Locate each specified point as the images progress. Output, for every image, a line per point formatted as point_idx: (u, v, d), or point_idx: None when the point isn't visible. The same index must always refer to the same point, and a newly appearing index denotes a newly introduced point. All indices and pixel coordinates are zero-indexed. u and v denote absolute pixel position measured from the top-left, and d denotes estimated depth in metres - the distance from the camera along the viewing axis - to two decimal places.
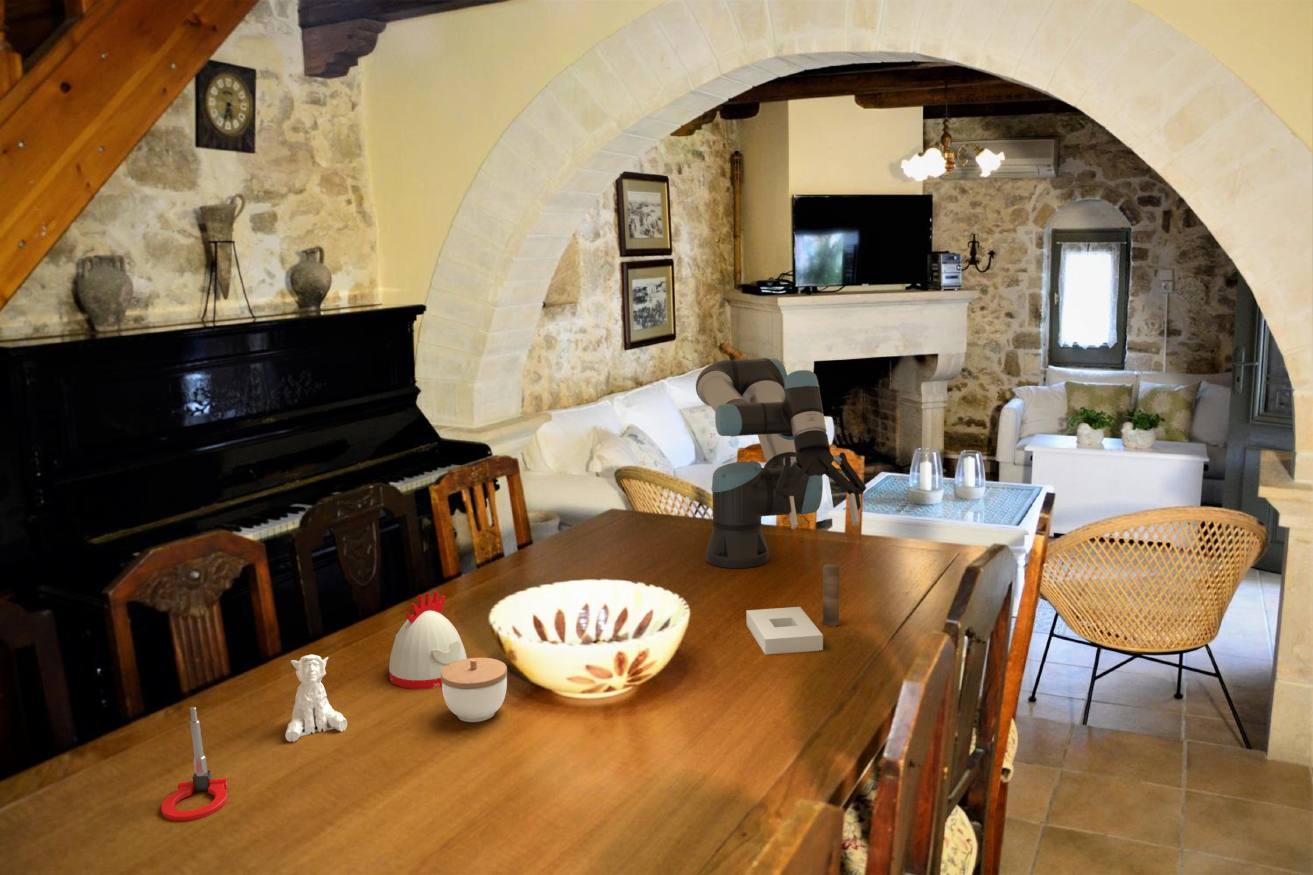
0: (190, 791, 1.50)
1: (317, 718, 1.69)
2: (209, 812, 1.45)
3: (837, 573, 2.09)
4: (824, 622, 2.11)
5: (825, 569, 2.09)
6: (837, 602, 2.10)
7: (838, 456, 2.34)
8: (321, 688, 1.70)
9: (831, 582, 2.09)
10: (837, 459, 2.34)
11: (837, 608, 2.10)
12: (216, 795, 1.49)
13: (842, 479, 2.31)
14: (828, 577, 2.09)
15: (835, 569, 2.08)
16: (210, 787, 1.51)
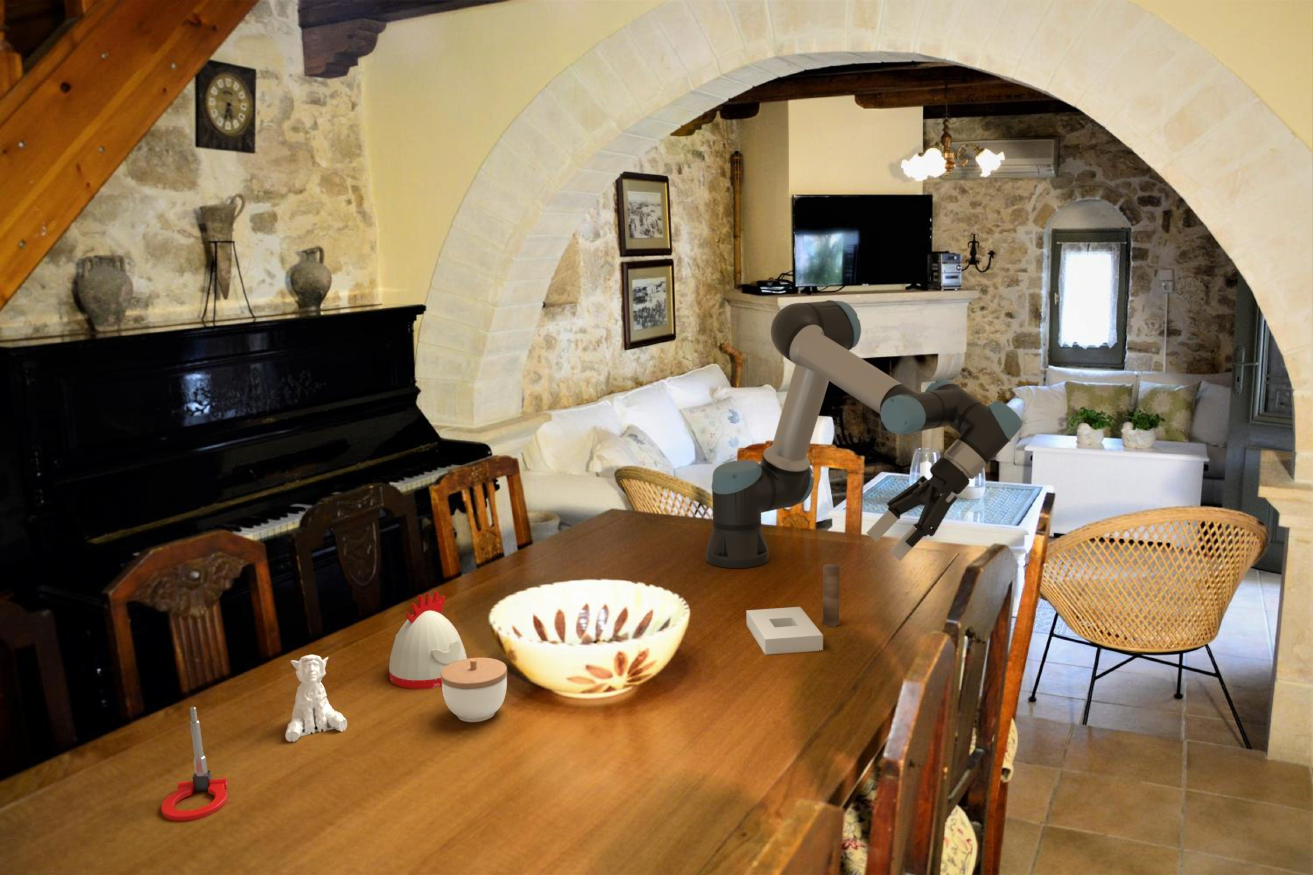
0: (190, 791, 1.50)
1: (317, 718, 1.69)
2: (209, 812, 1.45)
3: (837, 573, 2.09)
4: (824, 622, 2.11)
5: (825, 569, 2.09)
6: (837, 602, 2.10)
7: None
8: (321, 688, 1.70)
9: (831, 582, 2.09)
10: None
11: (837, 608, 2.10)
12: (216, 795, 1.49)
13: None
14: (828, 577, 2.09)
15: (835, 569, 2.08)
16: (210, 787, 1.51)
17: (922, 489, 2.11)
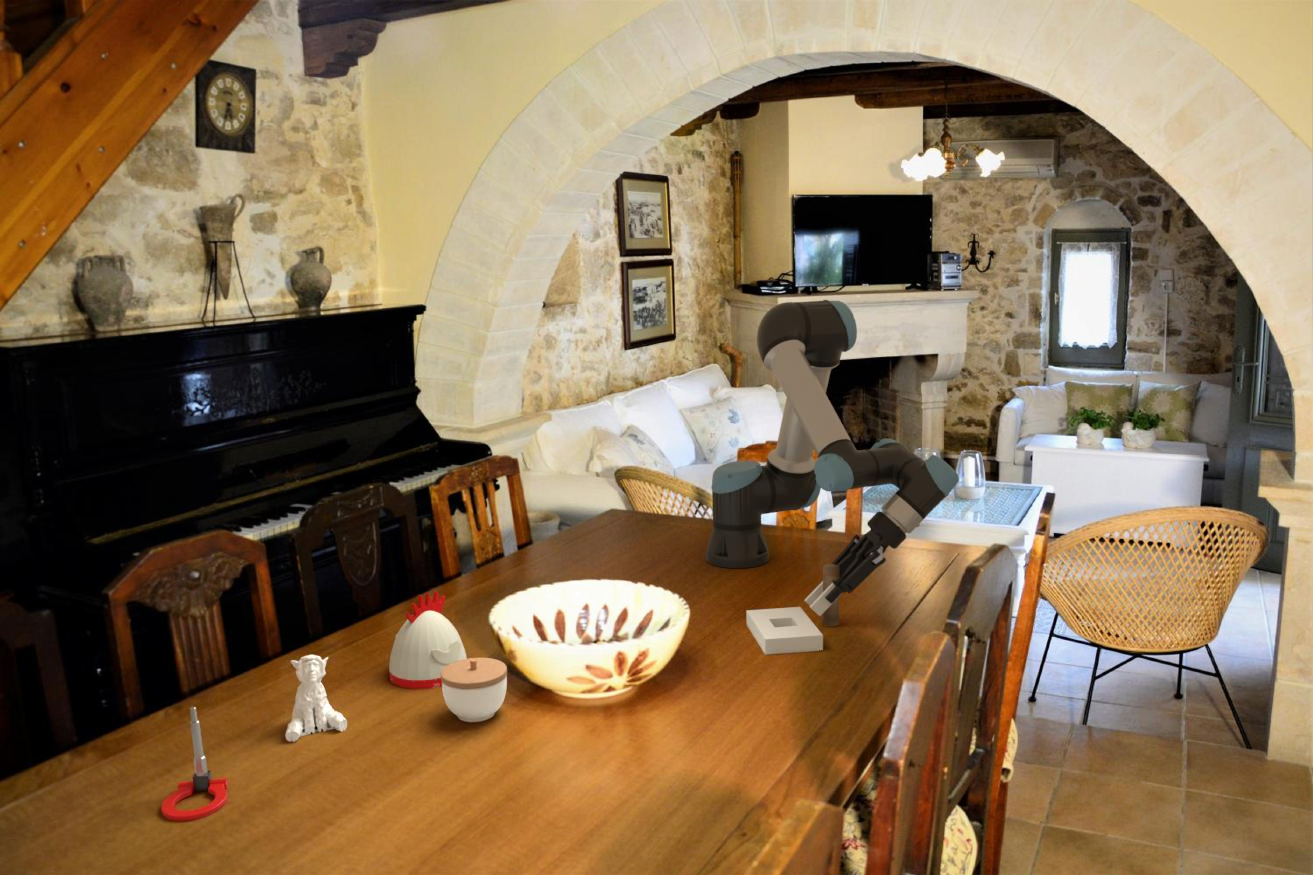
0: (190, 791, 1.50)
1: (317, 718, 1.69)
2: (209, 812, 1.45)
3: (837, 573, 2.09)
4: (824, 622, 2.11)
5: (825, 569, 2.09)
6: (837, 602, 2.10)
7: None
8: (321, 688, 1.70)
9: (831, 582, 2.09)
10: None
11: (837, 608, 2.10)
12: (216, 795, 1.49)
13: None
14: (828, 577, 2.09)
15: (835, 569, 2.08)
16: (210, 787, 1.51)
17: (861, 543, 2.11)
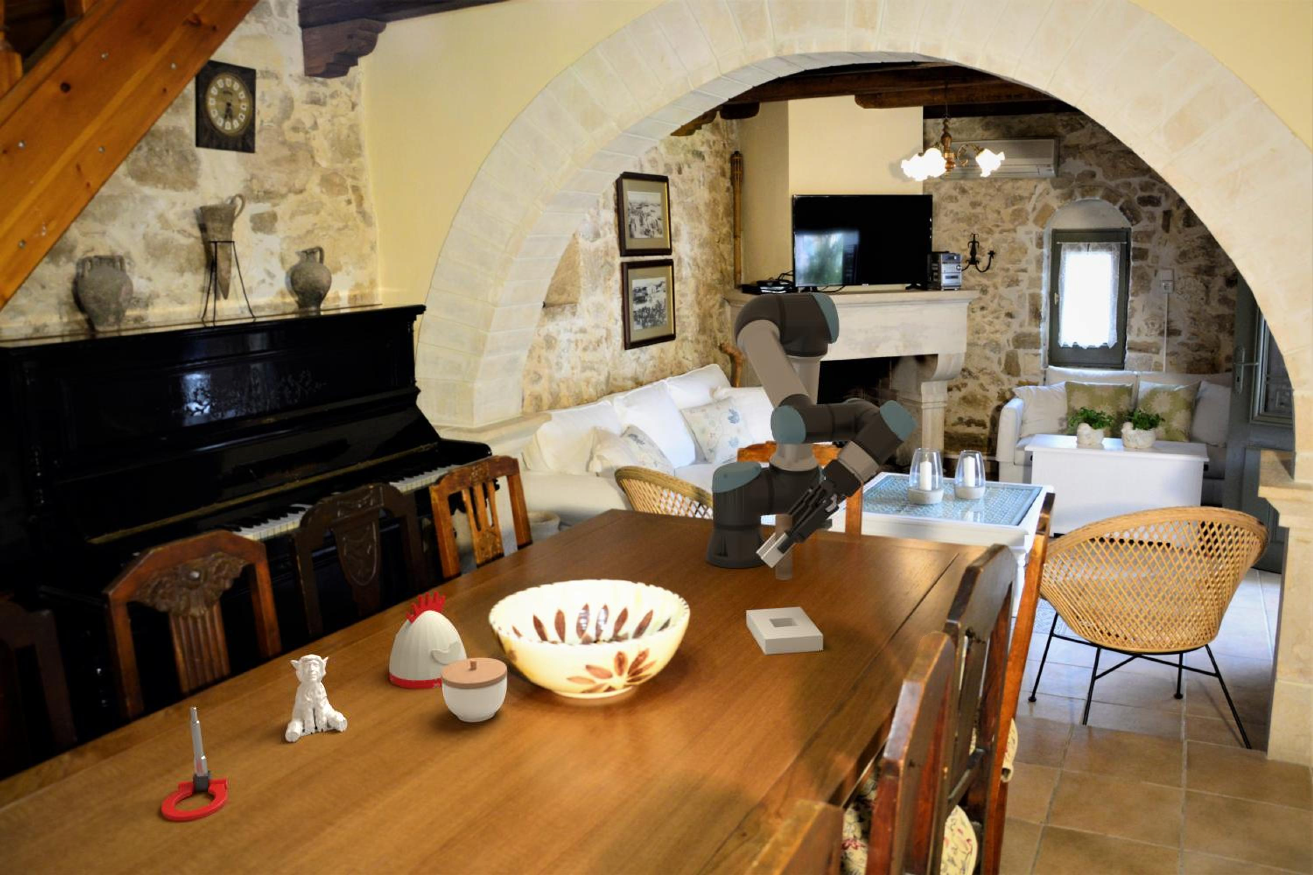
0: (190, 791, 1.50)
1: (317, 718, 1.69)
2: (209, 812, 1.45)
3: (790, 523, 2.00)
4: (777, 575, 2.02)
5: (777, 519, 2.00)
6: (790, 553, 2.01)
7: None
8: (321, 688, 1.70)
9: (783, 532, 2.00)
10: None
11: (790, 560, 2.01)
12: (216, 795, 1.49)
13: None
14: (780, 528, 2.00)
15: (787, 519, 2.00)
16: (210, 787, 1.51)
17: (815, 492, 2.02)
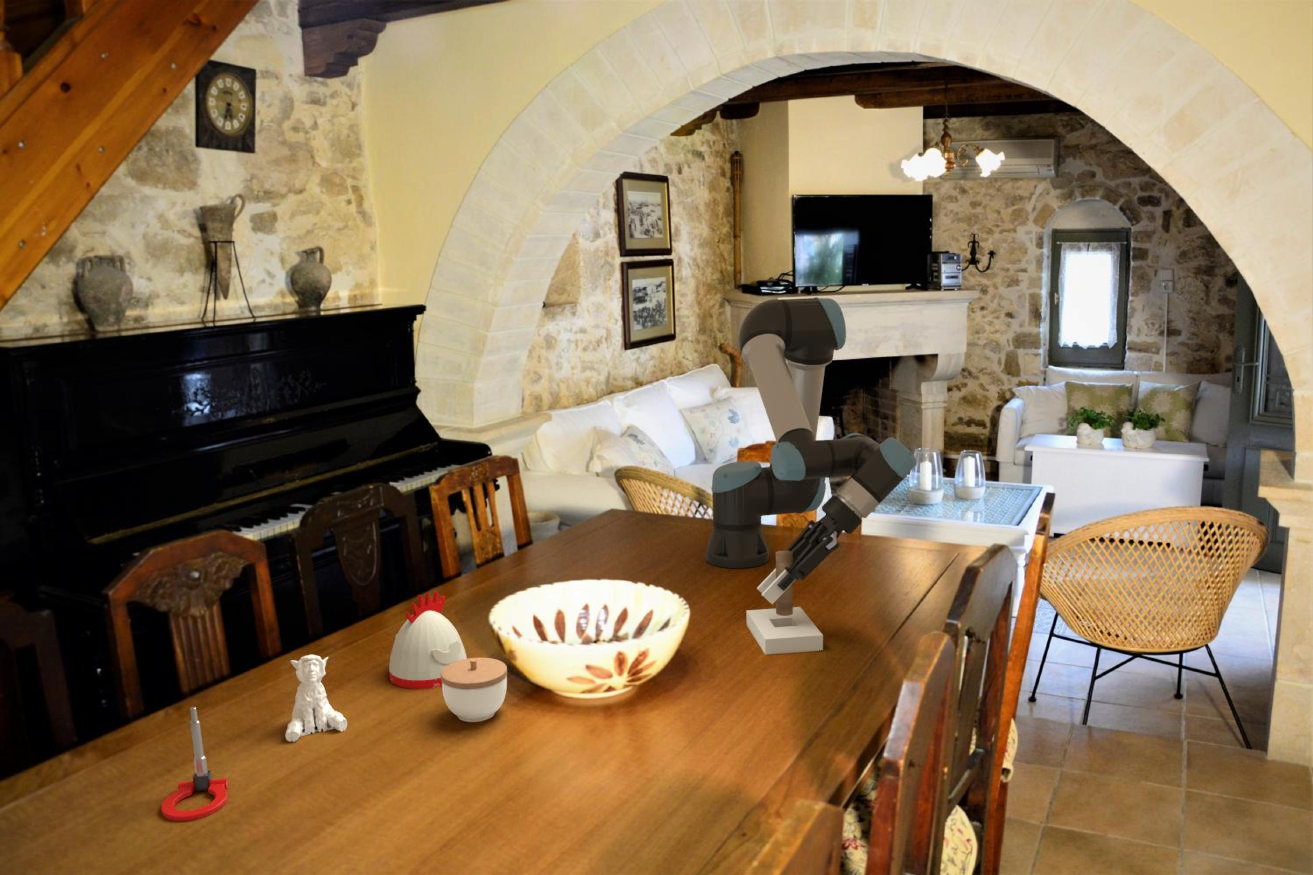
0: (190, 791, 1.50)
1: (317, 718, 1.69)
2: (209, 812, 1.45)
3: (790, 559, 2.01)
4: (777, 611, 2.03)
5: (778, 555, 2.01)
6: (790, 590, 2.02)
7: None
8: (321, 688, 1.70)
9: (783, 569, 2.01)
10: None
11: (790, 596, 2.02)
12: (216, 795, 1.49)
13: None
14: (780, 564, 2.01)
15: (788, 555, 2.01)
16: (210, 787, 1.51)
17: (815, 529, 2.03)
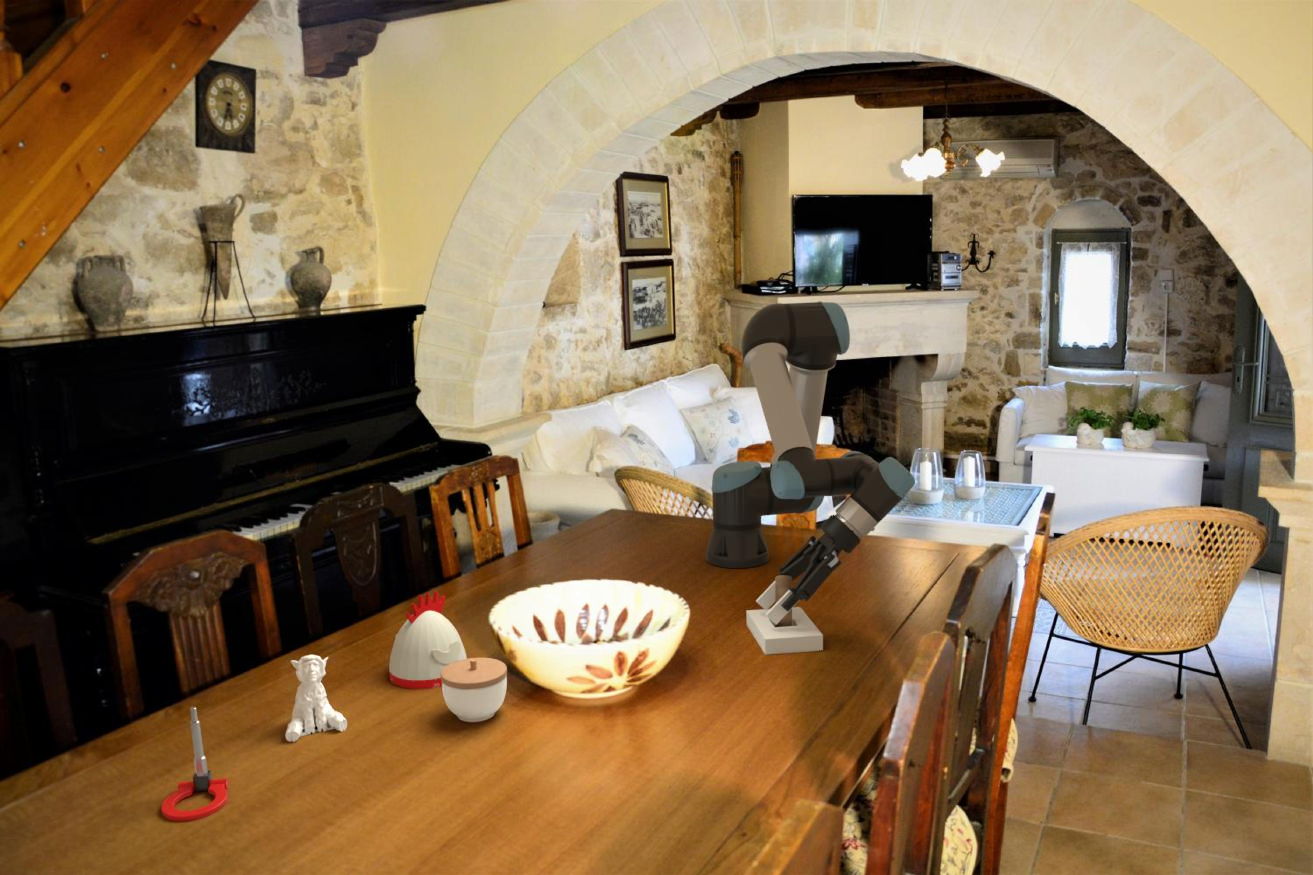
0: (190, 791, 1.50)
1: (317, 718, 1.69)
2: (209, 812, 1.45)
3: (789, 584, 2.02)
4: None
5: (777, 580, 2.03)
6: (790, 614, 2.04)
7: None
8: (321, 688, 1.70)
9: (783, 594, 2.02)
10: None
11: (790, 620, 2.04)
12: (216, 795, 1.49)
13: None
14: (780, 589, 2.02)
15: (787, 580, 2.02)
16: (210, 787, 1.51)
17: (813, 547, 2.04)
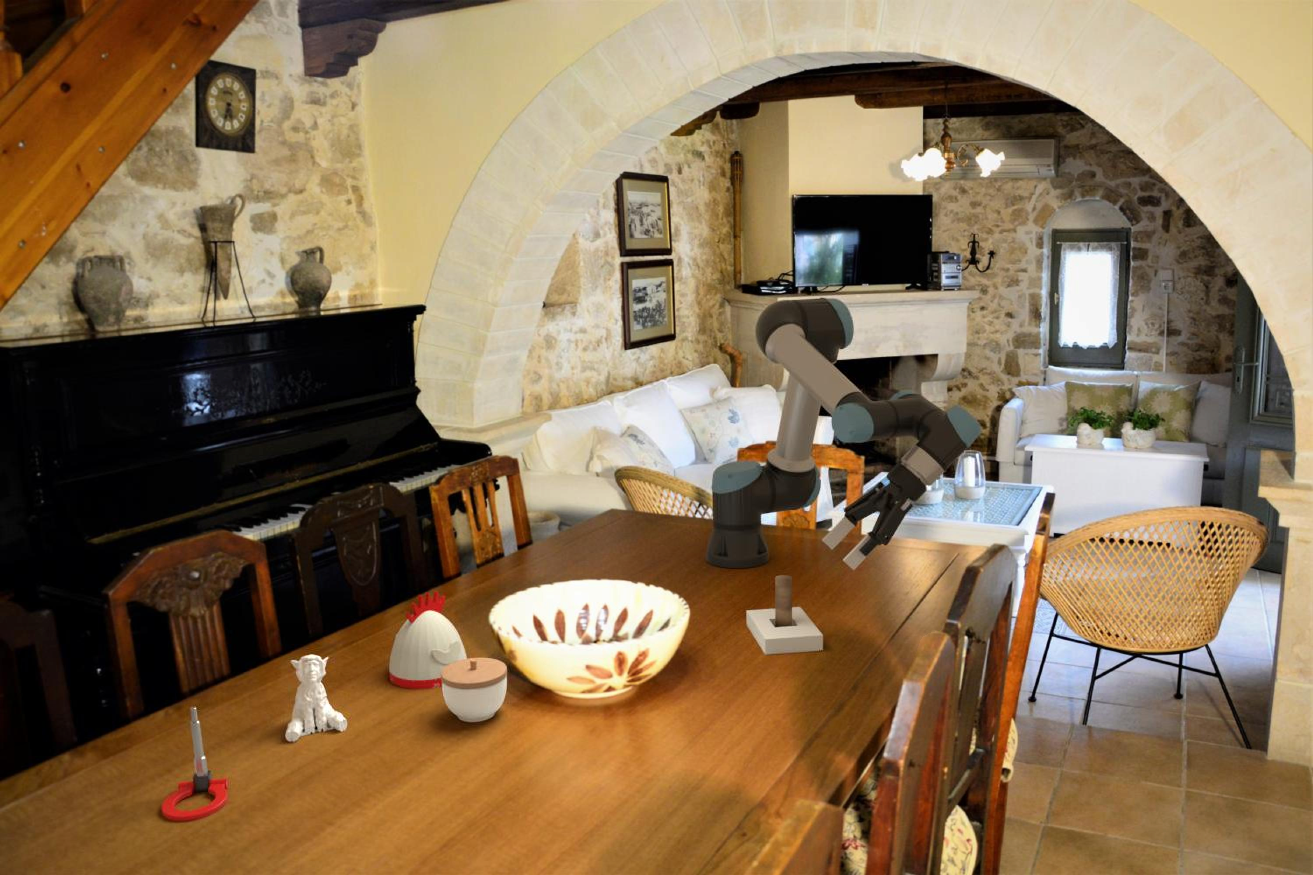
0: (190, 791, 1.50)
1: (317, 718, 1.69)
2: (209, 812, 1.45)
3: (789, 584, 2.02)
4: None
5: (777, 580, 2.03)
6: (790, 614, 2.04)
7: None
8: (321, 688, 1.70)
9: (783, 594, 2.02)
10: None
11: (790, 620, 2.04)
12: (216, 795, 1.49)
13: None
14: (780, 589, 2.02)
15: (787, 580, 2.02)
16: (210, 787, 1.51)
17: (878, 496, 2.05)
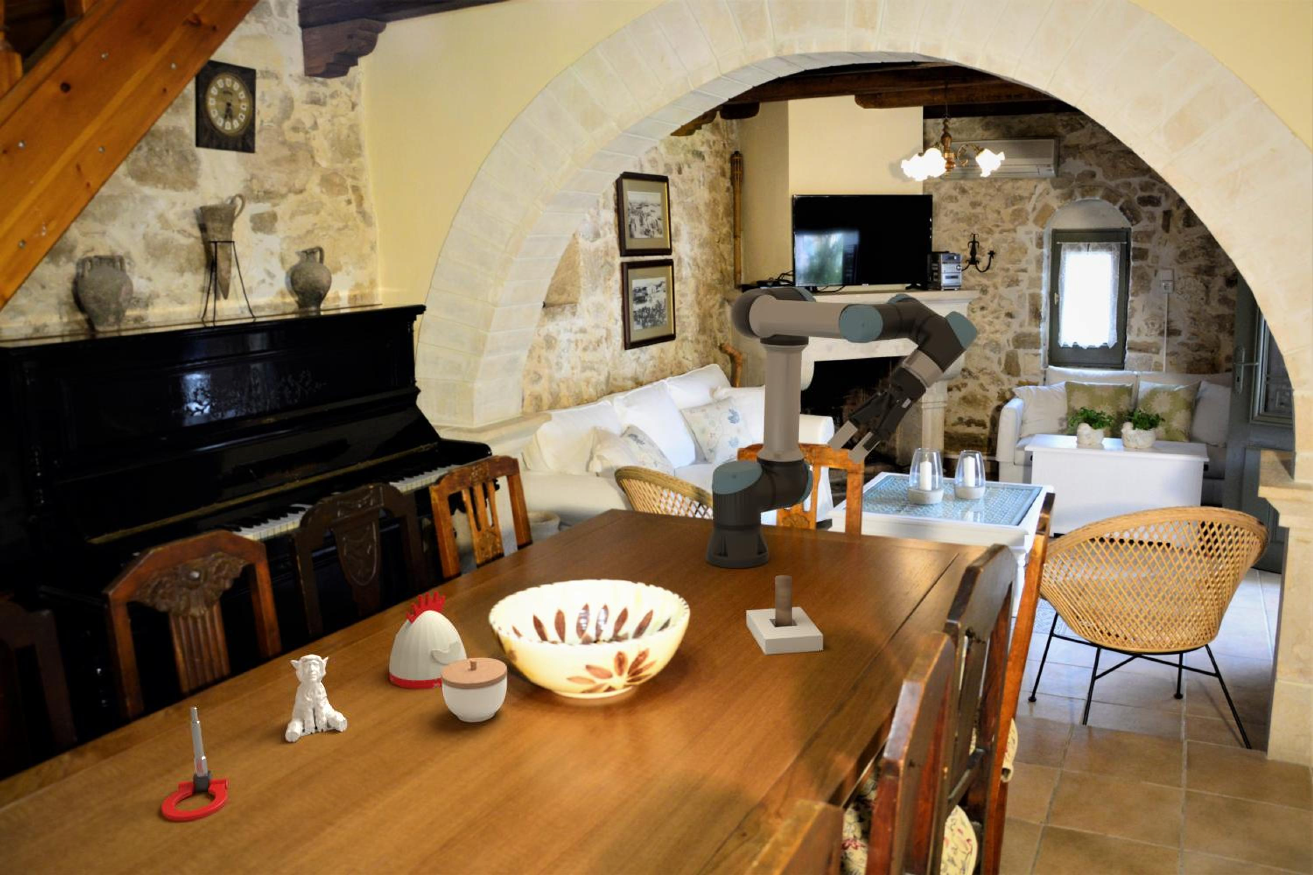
0: (190, 791, 1.50)
1: (317, 718, 1.69)
2: (209, 812, 1.45)
3: (789, 584, 2.02)
4: None
5: (777, 580, 2.03)
6: (790, 614, 2.04)
7: None
8: (321, 688, 1.70)
9: (783, 594, 2.02)
10: None
11: (790, 620, 2.04)
12: (216, 795, 1.49)
13: None
14: (780, 589, 2.02)
15: (787, 580, 2.02)
16: (210, 787, 1.51)
17: (880, 398, 2.16)
